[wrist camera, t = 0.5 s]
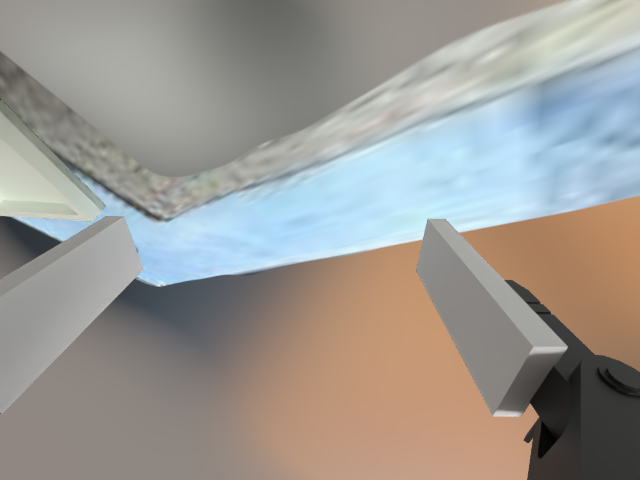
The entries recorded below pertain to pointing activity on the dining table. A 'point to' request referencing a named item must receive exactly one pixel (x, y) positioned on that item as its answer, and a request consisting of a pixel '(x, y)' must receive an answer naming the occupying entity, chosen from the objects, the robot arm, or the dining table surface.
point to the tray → (38, 177)
